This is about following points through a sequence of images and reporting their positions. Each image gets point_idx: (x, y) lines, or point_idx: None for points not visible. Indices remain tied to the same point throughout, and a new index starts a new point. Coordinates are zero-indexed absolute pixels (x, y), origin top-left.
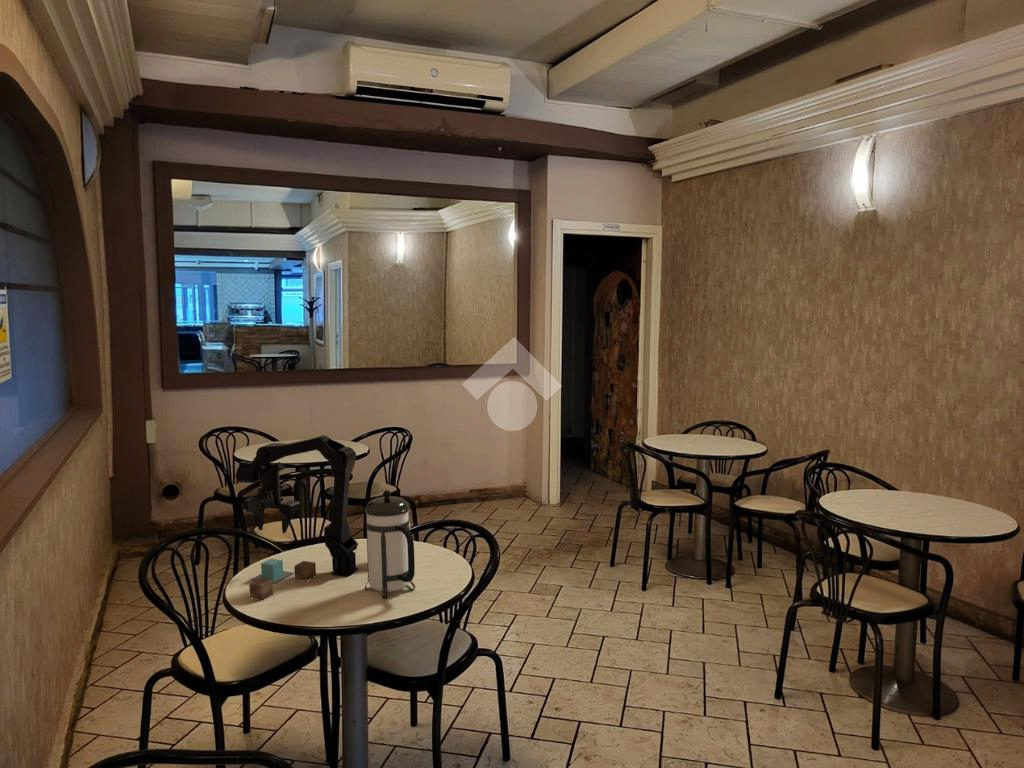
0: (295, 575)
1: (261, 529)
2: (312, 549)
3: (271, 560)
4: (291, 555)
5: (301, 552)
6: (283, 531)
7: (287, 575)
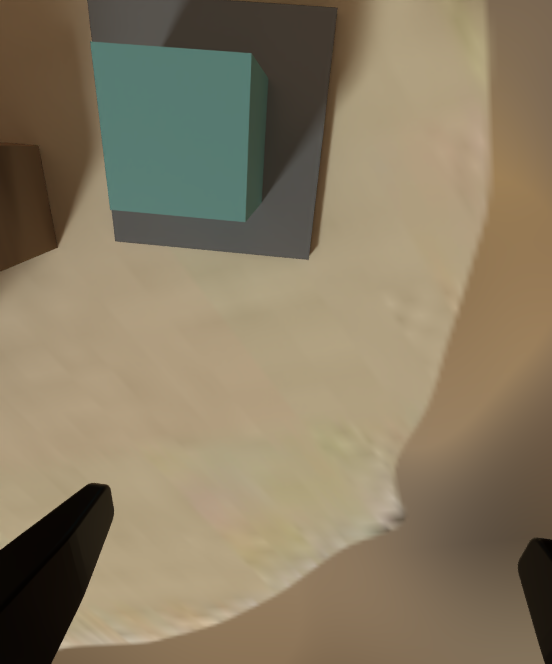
0: (8, 144)
1: (526, 561)
2: (271, 549)
3: (203, 174)
4: (327, 480)
5: (300, 516)
6: (71, 502)
7: None
